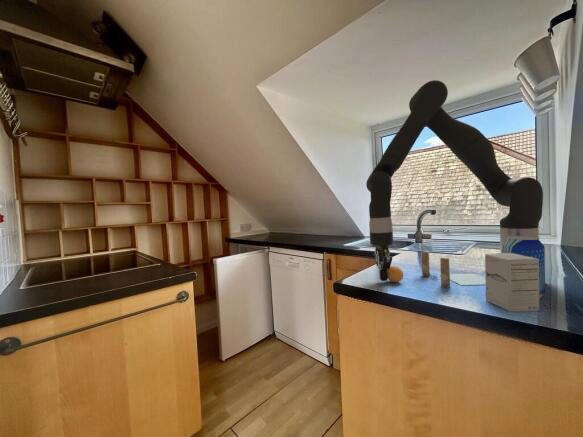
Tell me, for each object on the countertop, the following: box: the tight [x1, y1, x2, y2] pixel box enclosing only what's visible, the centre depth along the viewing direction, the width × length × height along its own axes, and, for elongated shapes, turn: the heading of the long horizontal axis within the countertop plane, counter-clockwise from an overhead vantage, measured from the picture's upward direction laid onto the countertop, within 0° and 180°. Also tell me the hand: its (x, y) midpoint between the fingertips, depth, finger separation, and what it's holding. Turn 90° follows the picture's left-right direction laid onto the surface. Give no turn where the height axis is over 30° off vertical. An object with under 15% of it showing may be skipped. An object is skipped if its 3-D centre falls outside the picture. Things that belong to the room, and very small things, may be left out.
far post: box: [420, 250, 431, 278], centre depth 89 cm, size 2×2×9 cm
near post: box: [439, 257, 451, 289], centre depth 76 cm, size 2×2×9 cm
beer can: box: [502, 236, 546, 299], centre depth 67 cm, size 8×8×16 cm
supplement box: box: [484, 253, 540, 313], centre depth 60 cm, size 7×7×13 cm
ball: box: [387, 265, 404, 283], centre depth 83 cm, size 6×6×6 cm
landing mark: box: [439, 273, 486, 287], centre depth 82 cm, size 12×12×1 cm
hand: (383, 280), depth 84 cm, fingers closed
